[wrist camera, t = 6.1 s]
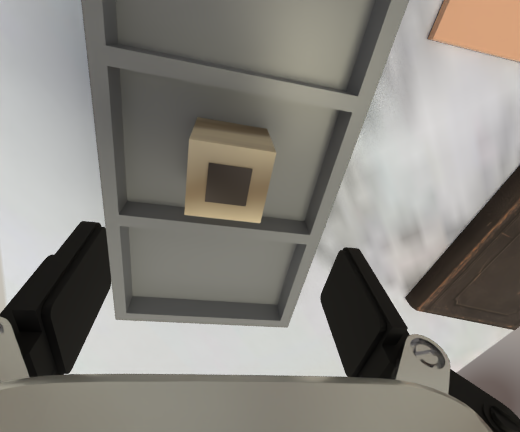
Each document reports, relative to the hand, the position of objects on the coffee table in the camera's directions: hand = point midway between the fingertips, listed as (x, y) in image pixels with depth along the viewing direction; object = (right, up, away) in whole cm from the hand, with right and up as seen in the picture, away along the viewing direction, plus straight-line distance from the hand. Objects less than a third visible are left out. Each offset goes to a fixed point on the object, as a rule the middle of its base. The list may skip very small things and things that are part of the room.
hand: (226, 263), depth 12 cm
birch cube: (-1, +6, +10) cm, 12 cm away
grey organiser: (-1, +7, +10) cm, 13 cm away
